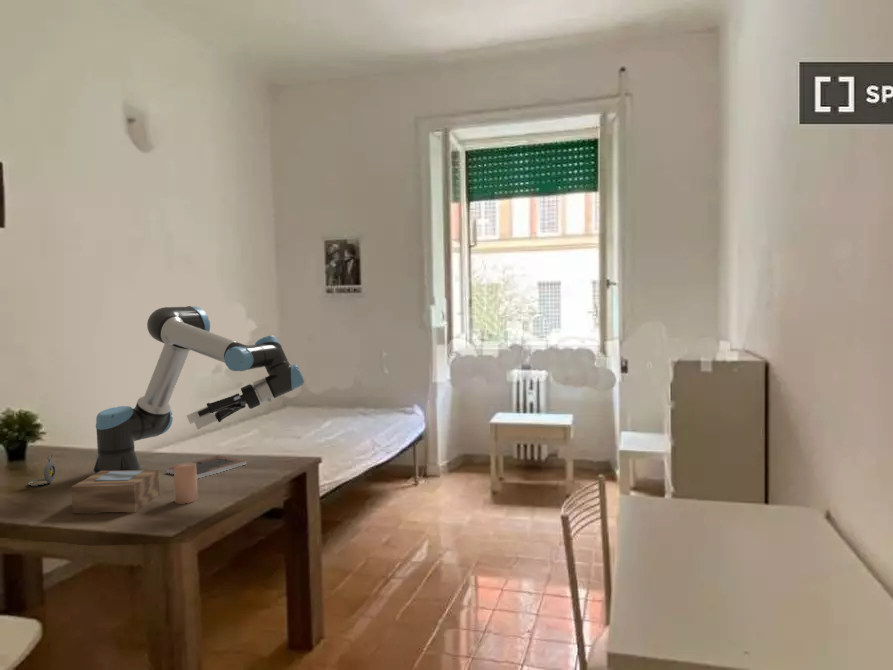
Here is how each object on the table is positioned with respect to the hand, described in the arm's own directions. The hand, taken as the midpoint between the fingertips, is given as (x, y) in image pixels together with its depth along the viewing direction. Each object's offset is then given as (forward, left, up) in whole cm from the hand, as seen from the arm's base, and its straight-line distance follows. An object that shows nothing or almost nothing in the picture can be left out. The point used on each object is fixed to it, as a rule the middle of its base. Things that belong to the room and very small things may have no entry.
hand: (192, 422), depth 205 cm
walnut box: (+8, -20, -23) cm, 31 cm away
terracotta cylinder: (+7, 0, -23) cm, 24 cm away
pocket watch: (-15, -56, -23) cm, 62 cm away
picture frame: (-30, -6, -24) cm, 39 cm away
